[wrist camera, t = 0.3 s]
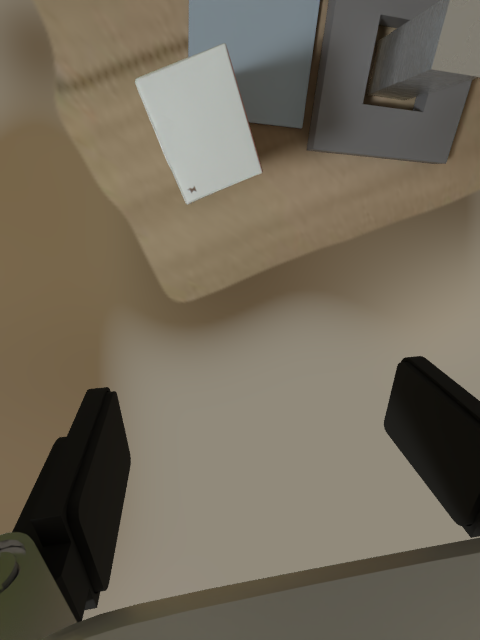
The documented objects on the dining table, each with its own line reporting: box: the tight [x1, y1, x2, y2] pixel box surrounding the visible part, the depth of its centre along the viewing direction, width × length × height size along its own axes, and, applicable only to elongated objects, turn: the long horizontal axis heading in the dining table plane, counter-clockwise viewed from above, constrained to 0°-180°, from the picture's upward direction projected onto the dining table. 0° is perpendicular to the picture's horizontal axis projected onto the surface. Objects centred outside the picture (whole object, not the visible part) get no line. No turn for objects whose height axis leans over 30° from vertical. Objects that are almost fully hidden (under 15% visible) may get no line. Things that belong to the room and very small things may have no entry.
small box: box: [135, 43, 263, 204], centre depth 27 cm, size 8×6×13 cm
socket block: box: [307, 0, 472, 164], centre depth 33 cm, size 16×16×2 cm
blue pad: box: [189, 0, 320, 129], centre depth 31 cm, size 12×12×1 cm
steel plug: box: [367, 0, 480, 100], centre depth 29 cm, size 4×4×10 cm
